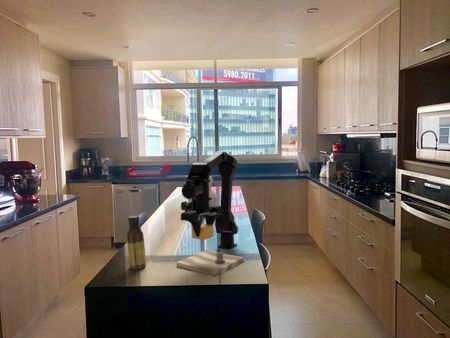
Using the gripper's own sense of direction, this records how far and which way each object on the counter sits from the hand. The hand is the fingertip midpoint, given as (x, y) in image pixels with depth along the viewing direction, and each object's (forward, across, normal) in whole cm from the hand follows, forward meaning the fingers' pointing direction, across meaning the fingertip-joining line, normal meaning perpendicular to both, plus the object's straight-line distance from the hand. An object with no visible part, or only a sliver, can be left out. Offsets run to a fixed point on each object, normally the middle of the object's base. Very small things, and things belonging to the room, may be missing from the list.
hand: (203, 234), depth 143 cm
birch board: (+11, 0, +3) cm, 12 cm away
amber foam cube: (+1, 0, 0) cm, 1 cm away
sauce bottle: (+11, +18, -18) cm, 28 cm away
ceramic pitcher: (+11, -72, -63) cm, 96 cm away
